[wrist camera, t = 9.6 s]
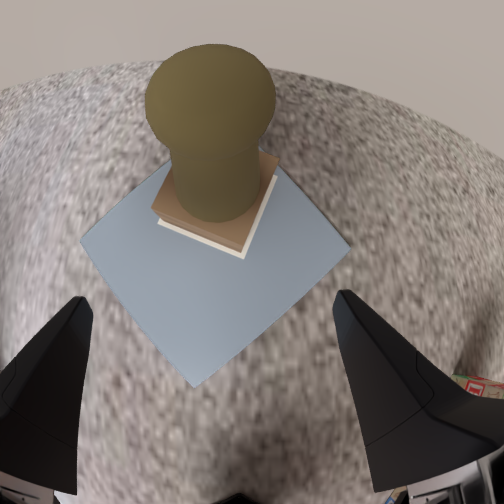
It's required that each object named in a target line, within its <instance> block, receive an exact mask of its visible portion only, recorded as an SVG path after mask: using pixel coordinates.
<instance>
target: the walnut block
mask: <svg viewBox="0 0 504 504" xmlns="http://www.w3.org/2000/svg"><path fill="white" fill-rule="evenodd" d="M279 160H280V158H277V157H275V156H273V155H270V154H268V153H265V152H263V151H260V150H259V164H260V189H259V193H258V195H257V198H256V200H255V202H254V204H253V205H252V206H251V207H250V208H249V209H248V210H247V211H246V213H244V214H242V215H241V216H239V217H237V218H235V219H234V220H230V221H226V222H221V223H214V222H205V221H202V220H200V219H197V218H195V217H193V216H192V215H190V214H189V213H188V212H187V211H186V210H185V209H184V208H183V207H182V206H181V204H180V202H179V200H178V198H177V196H176V190H175V184H174V178H173V170H172V166H171V168H170V170H169V172H168V174H167V176H166V178H165V180H164V182H163V184H162V186H161V188H160V190H159V192H158V194H157V196H156V198H155V200H154V202H153V204H152V206H151V209H152V210H153V211H154V212H155V213H156V214H157V215H158V216H159V217H160V218H161V219H162V220H163V221H164V222H167V223H169V224H172V225H174V226H177V227H179V228H181V229H184V230H186V231H189V232H191V233H193V234H196V235H198V236H201V237H203V238H205V239H208V240H210V241H213V242H215V243H218V244H220V245H222V246H225V247H227V248H230V249H232V250H235V251H237V252H239V253H241V252H242V249H243V247H244V244H245V242H246V240H247V237H248V235H249V232H250V230H251V227H252V225H253V223H254V220H255V218H256V215H257V213H258V211H259V208H260V206H261V203H262V201H263V199H264V196H265V194H266V192H267V189H268V187H269V184H270V182H271V180H272V177H273V175H274V172H275V170H276V167H277V165H278V162H279Z"/></svg>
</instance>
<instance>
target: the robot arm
mask: <svg viewBox="0 0 504 504" xmlns="http://www.w3.org/2000/svg"><path fill="white" fill-rule="evenodd" d="M333 316H334V321H335V326H336V332H337V338H338V343H339V349H340V352H341V356H342V359H343V363H344V366H345V370H346V374H347V377H348V381H349V384H350V388H351V392H352V396H353V400H354V403H355V407H356V411H357V415H358V419H359V423H360V427H361V432H362V436H363V440H364V445H365V450H366V454H367V459H368V463H369V468H370V473H371V478H372V483H373V488H374V492H375V493H377V492H382V491H386V490H391V489H395V488H399V487H403V486H406V488H407V489H406V490H404V491H401V492H400V494H399V496H398V497H397V499H396V501H395V502H394V504H504V399H498V398H490V397H482V396H477V395H474V394H471V393H469V392H468V391H466V390H465V389H463V388H462V387H461V386H460V385H458V384H457V383H456V382H455V381H453V380H452V379H451V378H450V377H448V376H447V375H446V374H444V373H443V372H442V371H441V370H440V369H438V368H437V367H436V366H435V365H433V364H432V363H431V362H430V361H429V360H428V359H427V358H426V357H425V356H423V355H422V354H421V353H420V352H419V351H418V350H417V349H416V348H415V347H414V346H413V345H412V344H410V343H409V342H408V341H407V340H406V339H405V338H404V337H403V336H402V335H401V334H400V333H398V332H397V331H396V330H395V329H394V328H393V327H392V326H391V325H390V324H389V323H387V322H386V321H385V320H384V319H383V318H382V317H381V316H380V315H378V314H377V313H376V312H375V311H374V310H373V309H372V308H371V307H369V306H368V305H367V304H366V303H365V302H364V301H363V300H362V299H360V298H359V297H358V296H357V295H356V294H355V293H354V292H352V291H351V290H349V289H345V290H339V291H338V292H337V295H336V298H335V301H334V304H333ZM92 323H93V312H92V309H91V307H90V305H89V304H88V302H87V300H86V298H85V297H83V296H75V297H73V298H72V299H71V300H70V301H69V302H68V303H67V304H66V305H65V306H64V307H63V308H62V309H61V310H60V311H59V312H58V313H57V314H55V315H54V316H53V317H52V318H51V319H50V320H49V321H48V322H47V323H46V324H45V325H44V326H43V328H42V329H41V330H40V331H39V332H38V333H37V334H36V335H35V336H34V337H33V338H32V339H31V340H30V341H29V342H28V343H27V344H26V345H25V346H24V347H23V349H22V350H21V351H20V352H19V353H18V354H17V355H16V357H14V358H13V360H12V361H11V362H10V363H9V364H8V365H7V366H6V367H5V368H4V370H3V371H2V372H1V373H0V504H60V502H59V501H58V499H57V498H56V496H54V490H56V491H59V492H63V493H68V494H72V495H77V444H78V429H79V418H80V409H81V400H82V393H83V386H84V379H85V373H86V368H87V362H88V356H89V350H90V340H91V331H92ZM238 497H241V498H238ZM218 504H260V503H258V502H255V501H253V500H251V499H250V498H248V497H246V496H245V495H243V494H236V495H234V496H232V497H230V498H228V499H226V500H224V501H222V502H220V503H218Z"/></svg>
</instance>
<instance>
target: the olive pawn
mask: <svg viewBox="0 0 504 504" xmlns="http://www.w3.org/2000/svg"><path fill="white" fill-rule="evenodd" d="M275 98H276V92H275V85H274V83H273V80H272V78H271V75H270V73H269V71H268V70H267V69H266V67H265V66H264V65H263V64H262V63H261V62H260V61H259V60H258V59H257V58H256V57H255V56H254V55H252V54H251V53H248V52H247V51H245V50H243V49H241V48H237V47H233V46H229V45H223V44H206V45H200V46H194V47H190V48H188V49H185V50H183V51H180V52H178V53H176V54H174V55H173V56H171V57H170V58H168V59H167V60H165V61H164V62H163V63H162V64H161V65H160V67H159V68H158V69H157V70H156V71H155V72H154V74H153V76H152V78H151V79H150V82H149V84H148V87H147V90H146V93H145V112H146V119H147V121H148V123H149V125H150V127H151V129H152V131H153V132H154V134H155V136H156V138H157V139H158V140H159V141H160V142H162V143H163V144H164V145H165V146H167V147H168V148H169V149H170V156H171V163H172V170H173V178H174V184H175V190H176V196H177V198H178V200H179V202H180V204H181V206H182V207H183V208H184V209H185V210H186V211H187V212H188V213H189V214H190V215H192V216H193V217H195V218H197V219H200V220H202V221H205V222H214V223H221V222H226V221H230V220H234V219H235V218H237V217H239V216H241V215H242V214H244V213H246V211H247V210H248V209H249V208H250V207H251V206H252V205H253V204H254V202H255V200H256V198H257V195H258V193H259V189H260V164H259V145H258V139H259V138H260V137H261V136H262V135H263V133H264V132H265V131H266V129H267V127H268V125H269V123H270V121H271V119H272V117H273V114H274V110H275Z"/></svg>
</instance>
